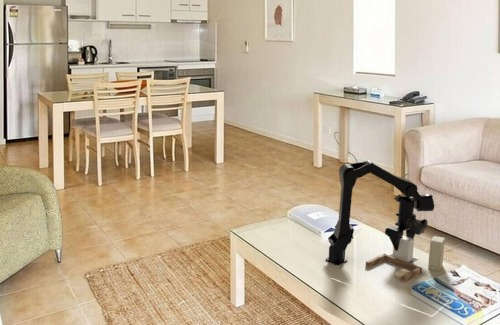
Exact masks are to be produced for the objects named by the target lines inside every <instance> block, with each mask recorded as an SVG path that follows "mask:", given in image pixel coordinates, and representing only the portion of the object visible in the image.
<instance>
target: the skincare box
mask: <svg viewBox="0 0 500 325" xmlns="http://www.w3.org/2000/svg"><path fill="white" fill-rule="evenodd" d="M445 241H446V237H444V236H443V237H442V236H437V235H433V236H432V238H431V239H430V242H429V252H428V253H429V254H428V255H429V256H428V263H427V264H428V266H427V269H428V270H430V271H431V270H432V271H437V272H440V270H441V269H442V268H443V265H444V264H443V262H444V255H445V254H444V253H445Z"/></svg>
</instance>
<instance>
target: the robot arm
mask: <svg viewBox="0 0 500 325" xmlns="http://www.w3.org/2000/svg"><path fill="white" fill-rule="evenodd" d="M338 169H339V170H338V175H339V176H338V177H339V181H340V186H341V187H340V197H339V198H340V200H339V209H338V211H339V212H338V220H337V222H336V224H335V228H334V231H333V233H332V234H331V235H329V237H327V239H328V242H329V244H330V246H329V247H328V257H326V258H325V261H327V262H329V263H331V264H333V265H336V266H340V265H342V264H344V263H346V262H348V259H347V258H346V250H347V248H348V245H349V244H352V243H351V242H352V240H353V239H354V231H355V229H354V227H353V226H352V224H351V223H350V221H351V210H352V209H351V208H352V199H353V198H352V196H353V189H354V187H355V184H357V179H359V178H362V177H364V176H366V175H369V174H372V175H373V176H375V177H378V179H380V180H383V181H385V182H387V183H388V184H390V185H391V186H393V187H394V188H396V189H397V190H398V191H399V192H401V193H402V194H403V195H401V194H400V193H399V194H397V195H396V196H395V197H394V198H393V199H394V200H395V201H396V202H398V212H396V213H395V215H396V217H397V221H396V222H395V224H394V225H395V226H393V225H391V226H388V227H387V228H384V235H385V236H387V237H388V238H389V240H390V242H391V244H392V248H393V247H394V249H395V250H396V251H398V248H399V242H400V239H402V238H403V237H402V236H404V232H405V234H406V235H405V236H406V237H409V238H412V239H414V240H415V236H416V235H417V236H421V234H424V232H425V230H427V229H428V220H427V219H425V218H423V219H421V220H420V219H417V216H416V213H414V210H416V211H417V212H434V209H435V202H434V198H433V195H432V194H431V193H428V194H420V192H418V186H417V184H415V183H414V182H413V181H412V180H410V179H408V178H404V177H401V176H397V175H395V174H393V173H391V172H390V171H388V170H386V169H384V168H382V167H381V166H379V165H377V164H375V163H374V162H372V161H371V160H365V161H360V162H353V163H344V164H342V165H341V166H339V168H338ZM396 226H397V227H396Z"/></svg>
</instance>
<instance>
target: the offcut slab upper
mask: <svg viewBox="0 0 500 325" xmlns="http://www.w3.org/2000/svg"><path fill="white" fill-rule="evenodd" d="M410 271H411V270H408V269H406V268H401V269H399V270H398V271H395V272H394V275H395V276H394V277H396V278H398V277H399V278H398V279H400V278H401V276H402V275H404V274H406V273H408V272H410Z"/></svg>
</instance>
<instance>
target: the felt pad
mask: <svg viewBox="0 0 500 325" xmlns="http://www.w3.org/2000/svg"><path fill="white" fill-rule="evenodd" d="M388 255H389V256H392V257H393V253H391V254H388ZM417 261H419V259H418V258H415V257H413V259H412V260H411V261H409V262H408V263H410V264H413V263H414V262H417Z"/></svg>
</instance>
